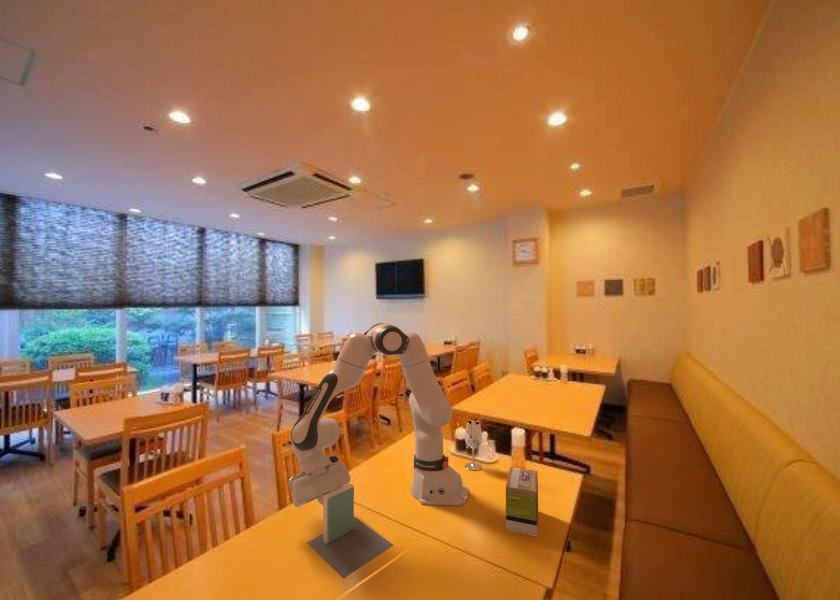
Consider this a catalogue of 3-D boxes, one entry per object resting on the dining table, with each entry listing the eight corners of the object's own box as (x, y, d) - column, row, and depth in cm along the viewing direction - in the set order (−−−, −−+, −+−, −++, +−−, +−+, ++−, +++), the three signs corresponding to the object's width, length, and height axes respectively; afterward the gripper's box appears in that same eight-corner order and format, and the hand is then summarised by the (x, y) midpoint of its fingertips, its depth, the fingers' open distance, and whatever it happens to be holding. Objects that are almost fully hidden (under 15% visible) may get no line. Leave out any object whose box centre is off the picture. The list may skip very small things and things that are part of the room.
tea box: (509, 505, 130) (509, 465, 130) (538, 511, 126) (538, 469, 126) (505, 530, 116) (505, 485, 116) (537, 537, 112) (537, 491, 112)
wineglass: (462, 463, 163) (463, 419, 163) (479, 462, 164) (479, 419, 164) (466, 471, 155) (466, 425, 155) (484, 470, 156) (484, 425, 156)
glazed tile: (323, 540, 109) (323, 495, 109) (350, 526, 117) (350, 483, 117) (327, 544, 108) (327, 498, 108) (354, 529, 115) (354, 486, 115)
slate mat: (306, 544, 109) (306, 542, 109) (354, 518, 122) (354, 516, 122) (343, 580, 95) (343, 578, 95) (393, 546, 108) (393, 545, 108)
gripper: (289, 474, 114) (304, 517, 107) (343, 454, 128) (359, 491, 122) (283, 483, 117) (297, 526, 110) (336, 462, 131) (351, 499, 125)
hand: (330, 507), depth 116 cm, fingers closed
